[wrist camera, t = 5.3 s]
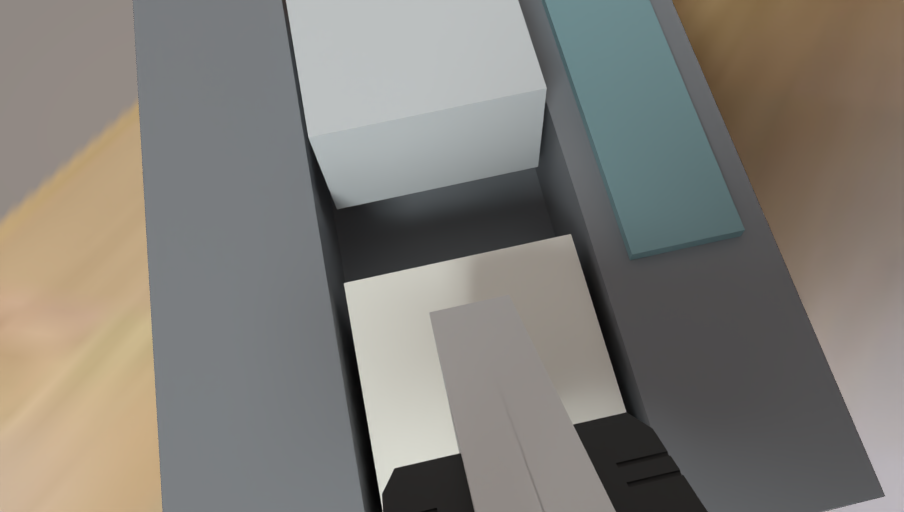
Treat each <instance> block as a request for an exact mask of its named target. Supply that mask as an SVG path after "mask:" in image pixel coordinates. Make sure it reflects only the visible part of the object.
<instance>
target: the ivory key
mask: <svg viewBox="0 0 904 512" xmlns="http://www.w3.org/2000/svg"><path fill="white" fill-rule="evenodd" d="M344 288H345V293H346V299H347V305H348V311H349V317H350V323H351V329H352V334H353V340H354V346H355V352H356V358H357V364H358V370H359V375H360V381H361V387H362V393H363V399H364V405H365V411H366V416H367V422H368V428H369V434H370V440H371V446H372V452H373V457H374V463H375V469H376V475H377V481H378V487H379V493H380V498H381V504H382V510H383V503H382V493H383V491H384V489H385V487H386V485H387V483H388V481H389V478H390V476H391V474H392V472H393V470H394V468H398V467H402V466H406V465H411V464H415V463H419V462H424V461H428V460H432V459H437V458H441V457H445V456H450V455H454V454H459V450H458V445H457V441H456V436H455V432H454V427H453V422H452V418H451V413H450V408H449V403H448V399H447V394H446V389H445V385H444V380H443V375H442V371H441V366H440V361H439V357H438V352H437V347H436V343H435V338H434V333H433V329H432V324H431V319H430V315H429V312H433V311H438V310H442V309H447V308H451V307H456V306H460V305H465V304H469V303H474V302H478V301H483V300H487V299H492V298H496V297H501V296H505V295H509V296H510V298H511V300H512V302H513V304H514V306H515V308H516V310H517V312H518V314H519V316H520V318H521V320H522V322H523V324H524V326H525V328H526V330H527V332H528V334H529V336H530V338H531V340H532V342H533V344H534V346H535V348H536V350H537V352H538V354H539V357H540V359H541V361H542V363H543V365H544V367H545V369H546V371H547V373H548V375H549V377H550V379H551V381H552V383H553V385H554V387H555V389H556V391H557V393H558V395H559V397H560V399H561V401H562V403H563V405H564V407H565V409H566V411H567V413H568V415H569V418H570V420H571V422H572V424H578V423H582V422H586V421H591V420H595V419H599V418H604V417H608V416H612V415H617V414H621V413H625V412H626V409H625V406H624V403H623V400H622V396H621V393H620V390H619V387H618V383H617V380H616V377H615V374H614V371H613V367H612V364H611V361H610V358H609V355H608V351H607V348H606V345H605V342H604V338H603V335H602V332H601V329H600V326H599V322H598V319H597V316H596V313H595V309H594V306H593V303H592V300H591V297H590V293H589V290H588V287H587V284H586V281H585V277H584V274H583V271H582V268H581V264H580V261H579V258H578V255H577V252H576V248H575V245H574V242H573V239H572V236H571V234H568V235H564V236H559V237H554V238H550V239H545V240H541V241H536V242H531V243H527V244H522V245H518V246H513V247H508V248H504V249H499V250H494V251H490V252H485V253H481V254H476V255H471V256H467V257H462V258H457V259H453V260H448V261H444V262H439V263H434V264H430V265H425V266H420V267H416V268H411V269H407V270H402V271H397V272H393V273H388V274H384V275H379V276H374V277H370V278H365V279H360V280H356V281H351V282H347V283H344Z"/></svg>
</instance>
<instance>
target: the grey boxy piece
mask: <svg viewBox="0 0 904 512" xmlns="http://www.w3.org/2000/svg"><path fill="white" fill-rule="evenodd" d="M518 1H519V4H520V7H521V10H522V13H523V16H524V19H525V23H526V26H527V29H528V32H529V35H530V38H531V41H532V44H533V47H534V50H535V53H536V56H537V60H538V63H539V66H540V69H541V72H542V75H543V78H544V81H545V84H546V87H547V90H546V99H545V108H544V117H543V126H542V135H541V144H540V153H539V162H538V167H535V168H530V169H525V170H521V171H516V172H511V173H506V174H502V175H497V176H492V177H488V178H483V179H478V180H473V181H469V182H464V183H459V184H455V185H450V186H445V187H440V188H436V189H431V190H426V191H422V192H417V193H412V194H407V195H403V196H398V197H393V198H389V199H384V200H379V201H374V202H370V203H365V204H360V205H355V206H351V207H346V208H341V209H337V208H336V206H335V203H334V201H333V198H332V196H331V193H330V191H329V188H328V186H327V183H326V181H325V178H324V175H323V173H322V170H321V168H320V165H319V163H318V160H317V158H316V155H315V153H314V150H313V148H312V145H311V143H310V140H309V138H308V132H307V126H306V120H305V113H304V107H303V101H302V95H301V89H300V83H299V77H298V71H297V65H296V59H295V53H294V47H293V40H292V34H291V28H290V22H289V16H288V10H287V4H286V0H133V11H134V12H133V13H134V29H135V46H136V62H137V63H136V64H137V81H138V98H139V115H140V132H141V149H142V166H143V183H144V200H145V217H146V235H147V252H148V269H149V286H150V303H151V320H152V337H153V354H154V371H155V388H156V405H157V422H158V439H159V457H160V474H161V491H162V508H163V512H383V510H382V504H381V498H380V493H379V487H378V481H377V475H376V469H375V463H374V457H373V452H372V446H371V440H370V434H369V428H368V422H367V416H366V411H365V405H364V399H363V393H362V387H361V381H360V375H359V370H358V364H357V358H356V352H355V346H354V340H353V334H352V329H351V323H350V317H349V311H348V305H347V299H346V293H345V288H344V283H347V282H351V281H356V280H360V279H365V278H370V277H374V276H379V275H384V274H388V273H393V272H397V271H402V270H407V269H411V268H416V267H420V266H425V265H430V264H434V263H439V262H444V261H448V260H453V259H457V258H462V257H467V256H471V255H476V254H481V253H485V252H490V251H494V250H499V249H504V248H508V247H513V246H518V245H522V244H527V243H531V242H536V241H541V240H545V239H550V238H554V237H559V236H564V235H568V234H571V236H572V239H573V242H574V245H575V248H576V252H577V255H578V258H579V261H580V264H581V268H582V271H583V274H584V277H585V281H586V284H587V287H588V290H589V293H590V297H591V300H592V303H593V306H594V309H595V313H596V316H597V319H598V322H599V326H600V329H601V332H602V335H603V338H604V342H605V345H606V348H607V351H608V355H609V358H610V361H611V364H612V367H613V371H614V374H615V377H616V380H617V383H618V387H619V390H620V393H621V396H622V400H623V403H624V406H625V409H626V412H627V413H628V414H630V415H632V416H633V417H635V418H637V419H638V420H640V421H641V422H643V423H645V424H646V425H648V426H649V427H651V428H653V430H654V431H655V433H656V434H657V436H658V437H659V439H660V440H661V442H662V443H663V445H664V446H665V448H666V449H667V451H668V455H669V456H671V457H672V458H673V460H674V461H675V463H676V464H677V466H678V467H679V469H680V472H681V475H684V477H685V478H686V480H687V481H688V483H689V484H690V486H691V487H692V489H693V490H694V492H695V493H696V495H697V496H698V498H699V499H700V501H701V502H702V504H703V505H704V507H705V508H706V510H707V511H708V512H825V511H829V510H833V509H836V508H840V507H844V506H848V505H852V504H856V503H860V502H864V501H868V500H872V499H876V498H880V497H884V496H885V495H884V492H883V490H882V488H881V485H880V483H879V481H878V478H877V476H876V474H875V471H874V469H873V467H872V464H871V462H870V460H869V458H868V455H867V453H866V451H865V448H864V446H863V444H862V441H861V439H860V437H859V434H858V432H857V430H856V427H855V425H854V423H853V420H852V418H851V416H850V413H849V411H848V409H847V406H846V404H845V402H844V399H843V397H842V395H841V392H840V390H839V388H838V385H837V383H836V381H835V379H834V376H833V374H832V372H831V369H830V367H829V365H828V362H827V360H826V358H825V355H824V353H823V351H822V348H821V346H820V344H819V341H818V339H817V337H816V334H815V332H814V330H813V327H812V325H811V323H810V320H809V318H808V316H807V313H806V311H805V309H804V306H803V304H802V302H801V300H800V297H799V295H798V293H797V290H796V288H795V286H794V283H793V281H792V279H791V276H790V274H789V272H788V269H787V267H786V265H785V262H784V260H783V258H782V255H781V253H780V251H779V248H778V246H777V244H776V241H775V239H774V237H773V234H772V232H771V230H770V227H769V225H768V223H767V221H766V218H765V216H764V214H763V211H762V209H761V207H760V204H759V202H758V200H757V197H756V195H755V193H754V190H753V188H752V186H751V183H750V181H749V179H748V176H747V174H746V172H745V169H744V167H743V165H742V162H741V160H740V158H739V155H738V153H737V151H736V149H735V146H734V144H733V142H732V139H731V137H730V135H729V132H728V130H727V128H726V125H725V123H724V121H723V118H722V116H721V114H720V111H719V109H718V107H717V104H716V102H715V100H714V97H713V95H712V93H711V90H710V88H709V86H708V83H707V81H706V79H705V76H704V74H703V72H702V70H701V67H700V65H699V63H698V60H697V58H696V56H695V53H694V51H693V49H692V46H691V44H690V42H689V39H688V37H687V35H686V32H685V30H684V28H683V25H682V23H681V21H680V18H679V16H678V14H677V11H676V9H675V7H674V4H673V2H672V0H518Z"/></svg>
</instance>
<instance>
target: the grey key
mask: <svg viewBox="0 0 904 512" xmlns="http://www.w3.org/2000/svg"><path fill="white" fill-rule="evenodd" d="M286 4H287V10H288V16H289V22H290V28H291V34H292V40H293V47H294V53H295V59H296V65H297V71H298V77H299V83H300V89H301V95H302V101H303V107H304V113H305V120H306V126H307V132H308V138H309V140H310V143H311V145H312V148H313V150H314V153H315V155H316V158H317V160H318V163H319V165H320V168H321V170H322V173H323V175H324V178H325V181H326V183H327V186H328V188H329V191H330V193H331V196H332V198H333V201H334V203H335V206H336V208H337V209H341V208H346V207H351V206H355V205H360V204H365V203H370V202H374V201H379V200H384V199H389V198H393V197H398V196H403V195H407V194H412V193H417V192H422V191H426V190H431V189H436V188H440V187H445V186H450V185H455V184H459V183H464V182H469V181H473V180H478V179H483V178H488V177H492V176H497V175H502V174H506V173H511V172H516V171H521V170H525V169H530V168H535V167H538V162H539V153H540V144H541V135H542V126H543V117H544V108H545V99H546V90H547V87H546V84H545V81H544V78H543V75H542V72H541V69H540V66H539V63H538V60H537V56H536V53H535V50H534V47H533V44H532V41H531V38H530V35H529V32H528V29H527V26H526V23H525V19H524V16H523V13H522V10H521V7H520V4H519V1H518V0H286Z"/></svg>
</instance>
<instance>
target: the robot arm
mask: <svg viewBox="0 0 904 512" xmlns="http://www.w3.org/2000/svg"><path fill="white" fill-rule="evenodd" d="M429 315H430V319H431V324H432V329H433V333H434V338H435V343H436V347H437V352H438V357H439V361H440V366H441V371H442V375H443V380H444V385H445V389H446V394H447V399H448V403H449V408H450V413H451V418H452V422H453V427H454V432H455V436H456V441H457V445H458V450H459V454H454V455H450V456H445V457H441V458H437V459H432V460H428V461H424V462H419V463H415V464H411V465H406V466H402V467H398V468H394V470H393V472H392V474H391V476H390V478H389V481H388V483H387V485H386V487H385V489H384V491H383V493H382V503H383V512H708V511H707V510H706V508H705V507H704V505H703V504H702V502H701V501H700V499H699V498H698V496H697V495H696V493H695V492H694V490H693V489H692V487H691V486H690V484H689V483H688V481H687V480H686V478H685V477H684V475H681V472H680V469H679V467H678V466H677V464H676V463H675V461H674V460H673V458H672V457H671V456H669V455H668V451H667V449H666V448H665V446H664V445H663V443H662V442H661V440H660V439H659V437H658V436H657V434H656V433H655V431H654V430H653V428H651V427H649V426H648V425H646V424H645V423H643V422H641V421H640V420H638V419H637V418H635V417H633V416H632V415H630V414H628V413H627V412H625V413H621V414H617V415H612V416H608V417H604V418H599V419H595V420H591V421H586V422H582V423H578V424H572V422H571V420H570V418H569V415H568V413H567V411H566V409H565V407H564V405H563V403H562V401H561V399H560V397H559V395H558V393H557V391H556V389H555V387H554V385H553V383H552V381H551V379H550V377H549V375H548V373H547V371H546V369H545V367H544V365H543V363H542V361H541V359H540V357H539V354H538V352H537V350H536V348H535V346H534V344H533V342H532V340H531V338H530V336H529V334H528V332H527V330H526V328H525V326H524V324H523V322H522V320H521V318H520V316H519V314H518V312H517V310H516V308H515V306H514V304H513V302H512V300H511V298H510V296H509V295H505V296H501V297H496V298H492V299H487V300H483V301H478V302H474V303H469V304H465V305H460V306H456V307H451V308H447V309H442V310H438V311H433V312H429Z"/></svg>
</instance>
